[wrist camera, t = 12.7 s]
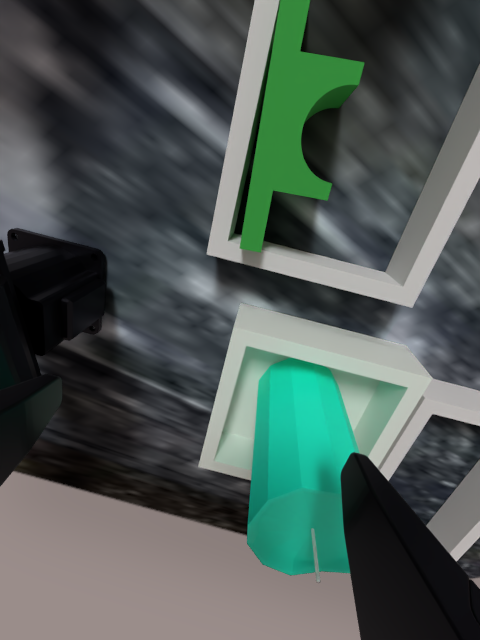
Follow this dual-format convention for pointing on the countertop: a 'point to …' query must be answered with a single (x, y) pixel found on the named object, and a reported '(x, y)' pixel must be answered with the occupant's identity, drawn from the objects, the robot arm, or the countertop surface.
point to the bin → (320, 348)
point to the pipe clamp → (292, 118)
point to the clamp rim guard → (393, 285)
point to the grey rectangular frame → (476, 488)
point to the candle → (299, 470)
